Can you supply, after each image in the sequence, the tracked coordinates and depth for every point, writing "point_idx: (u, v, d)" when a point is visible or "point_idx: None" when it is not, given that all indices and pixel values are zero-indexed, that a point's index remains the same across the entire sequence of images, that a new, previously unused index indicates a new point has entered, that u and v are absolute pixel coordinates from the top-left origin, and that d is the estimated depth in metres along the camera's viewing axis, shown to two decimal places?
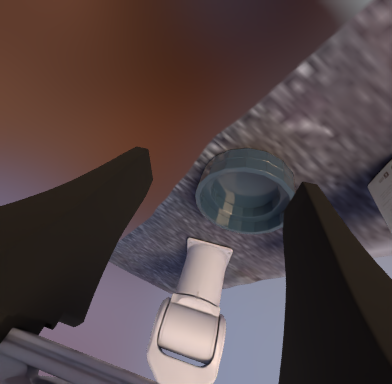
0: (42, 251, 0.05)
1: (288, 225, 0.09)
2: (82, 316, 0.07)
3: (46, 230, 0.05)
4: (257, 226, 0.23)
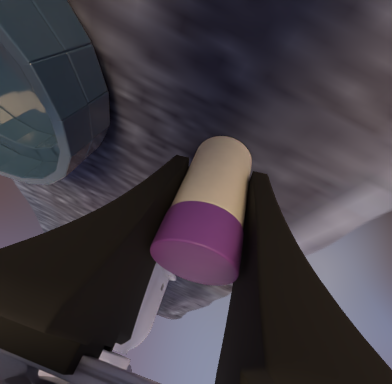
0: (113, 274, 0.05)
1: None
2: (130, 333, 0.07)
3: (117, 251, 0.05)
4: None
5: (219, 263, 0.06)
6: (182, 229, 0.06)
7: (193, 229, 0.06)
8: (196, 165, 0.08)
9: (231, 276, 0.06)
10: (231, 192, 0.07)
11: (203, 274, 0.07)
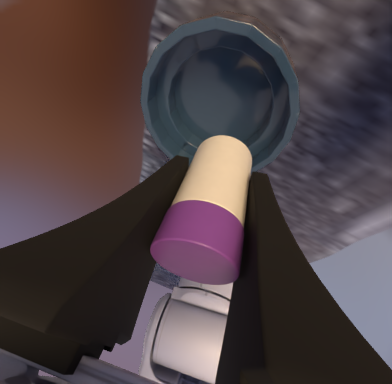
0: (113, 274, 0.05)
1: None
2: (130, 333, 0.07)
3: (117, 251, 0.05)
4: (254, 160, 0.15)
5: (220, 262, 0.06)
6: (182, 228, 0.06)
7: (193, 228, 0.06)
8: (196, 164, 0.08)
9: (231, 276, 0.06)
10: (232, 191, 0.07)
11: (203, 274, 0.07)
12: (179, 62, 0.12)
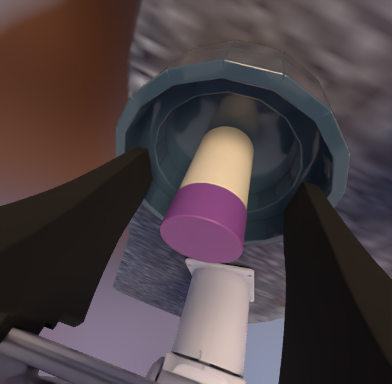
0: (42, 251, 0.05)
1: (288, 224, 0.09)
2: (83, 315, 0.07)
3: (46, 230, 0.05)
4: (270, 227, 0.11)
5: (225, 237, 0.06)
6: (191, 206, 0.06)
7: (201, 206, 0.06)
8: (201, 152, 0.09)
9: (235, 252, 0.07)
10: (235, 175, 0.08)
11: (209, 251, 0.07)
12: (168, 108, 0.09)
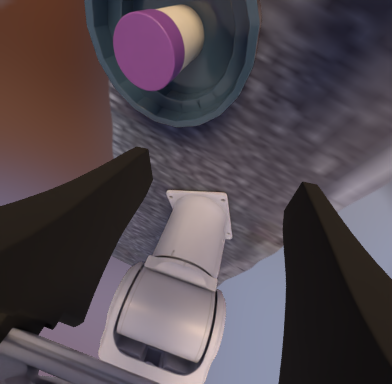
0: (42, 251, 0.05)
1: (288, 225, 0.09)
2: (82, 315, 0.07)
3: (46, 230, 0.05)
4: (220, 101, 0.13)
5: (158, 37, 0.08)
6: (132, 12, 0.08)
7: (139, 11, 0.08)
8: None
9: (169, 58, 0.09)
10: (175, 15, 0.10)
11: (152, 68, 0.09)
12: None
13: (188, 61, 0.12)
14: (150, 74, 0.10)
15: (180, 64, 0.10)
